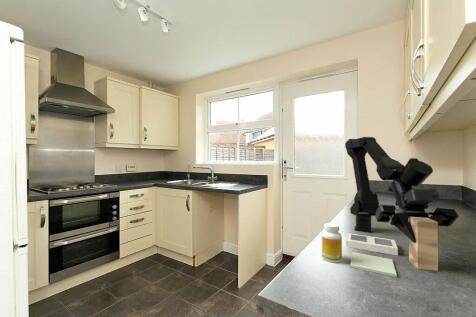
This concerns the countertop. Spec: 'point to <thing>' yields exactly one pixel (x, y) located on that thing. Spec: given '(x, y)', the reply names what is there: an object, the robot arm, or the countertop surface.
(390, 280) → the countertop surface
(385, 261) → the mat
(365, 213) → the robot arm
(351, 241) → the label panel
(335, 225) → the supplement bottle
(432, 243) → the oak post
